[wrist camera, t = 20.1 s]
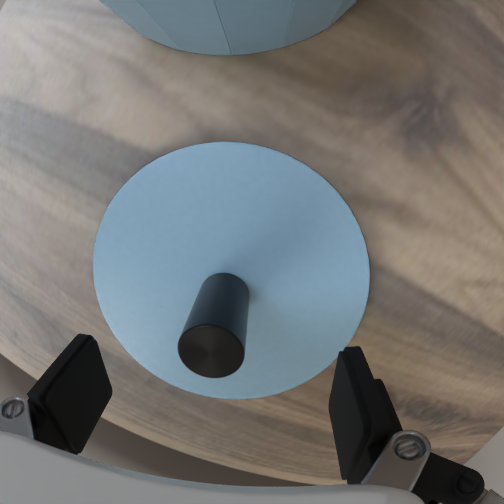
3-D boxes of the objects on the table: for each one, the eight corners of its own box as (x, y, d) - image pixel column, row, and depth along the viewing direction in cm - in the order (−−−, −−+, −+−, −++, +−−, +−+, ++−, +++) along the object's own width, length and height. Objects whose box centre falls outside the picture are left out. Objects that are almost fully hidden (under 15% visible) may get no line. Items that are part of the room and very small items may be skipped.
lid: (59, 238, 18) (-6, 275, 11) (280, 87, 15) (291, 48, 8) (195, 412, 22) (180, 479, 16) (397, 325, 19) (438, 388, 13)
